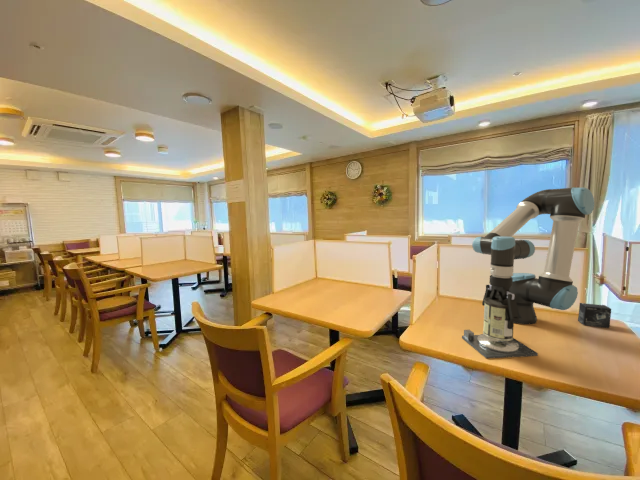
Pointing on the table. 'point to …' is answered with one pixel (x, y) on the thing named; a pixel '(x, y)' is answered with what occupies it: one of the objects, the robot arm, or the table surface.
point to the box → (594, 315)
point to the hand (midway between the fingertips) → (497, 329)
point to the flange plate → (497, 346)
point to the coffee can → (495, 320)
